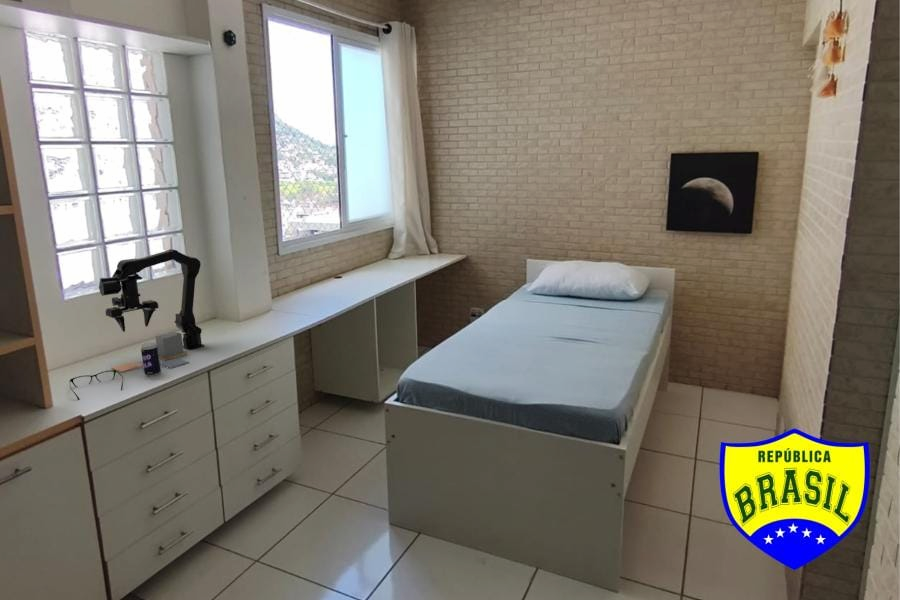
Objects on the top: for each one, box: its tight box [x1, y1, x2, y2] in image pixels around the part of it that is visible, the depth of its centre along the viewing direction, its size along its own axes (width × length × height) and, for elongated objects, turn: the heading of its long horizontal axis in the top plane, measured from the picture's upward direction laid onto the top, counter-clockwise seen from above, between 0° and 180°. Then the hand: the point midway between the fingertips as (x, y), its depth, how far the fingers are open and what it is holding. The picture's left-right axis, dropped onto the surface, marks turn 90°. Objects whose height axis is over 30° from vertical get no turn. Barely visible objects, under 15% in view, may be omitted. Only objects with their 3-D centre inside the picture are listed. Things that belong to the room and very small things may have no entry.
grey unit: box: [154, 331, 188, 361], centre depth 252 cm, size 10×8×9 cm
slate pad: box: [160, 357, 190, 369], centre depth 243 cm, size 8×8×1 cm
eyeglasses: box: [68, 369, 124, 401], centre depth 218 cm, size 16×16×4 cm
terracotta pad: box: [111, 361, 143, 374], centre depth 239 cm, size 8×8×1 cm
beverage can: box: [140, 342, 162, 377], centre depth 230 cm, size 6×6×12 cm
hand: (135, 329), depth 246 cm, fingers open, 9 cm apart
